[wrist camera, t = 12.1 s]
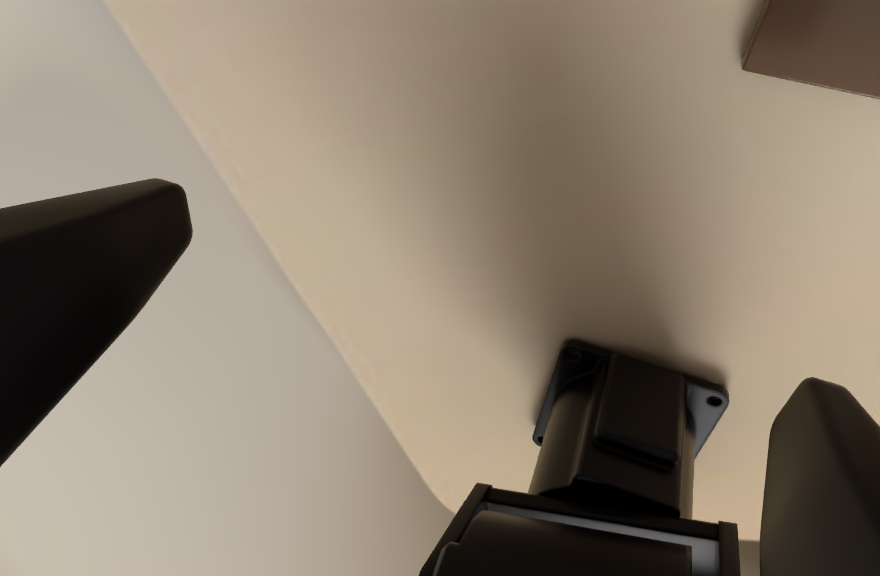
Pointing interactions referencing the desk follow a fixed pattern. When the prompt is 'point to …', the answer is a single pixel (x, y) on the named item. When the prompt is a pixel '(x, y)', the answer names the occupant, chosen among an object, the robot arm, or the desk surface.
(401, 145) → the desk surface
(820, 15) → the walnut ruler
